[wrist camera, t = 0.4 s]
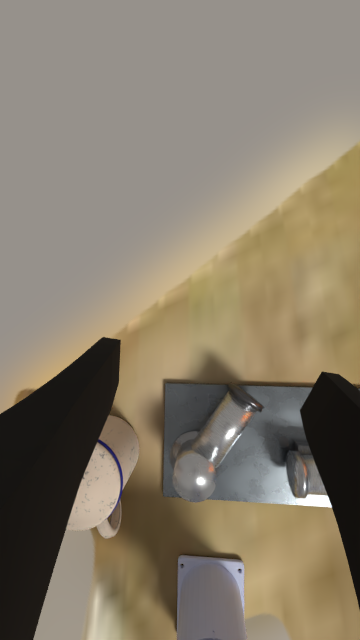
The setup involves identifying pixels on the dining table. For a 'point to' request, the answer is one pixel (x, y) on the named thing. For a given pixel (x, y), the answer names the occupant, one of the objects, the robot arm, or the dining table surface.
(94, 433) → the robot arm
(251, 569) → the dining table surface
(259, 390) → the metal pipe fittings plate
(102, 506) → the teacup with lid
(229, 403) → the silver pipe
